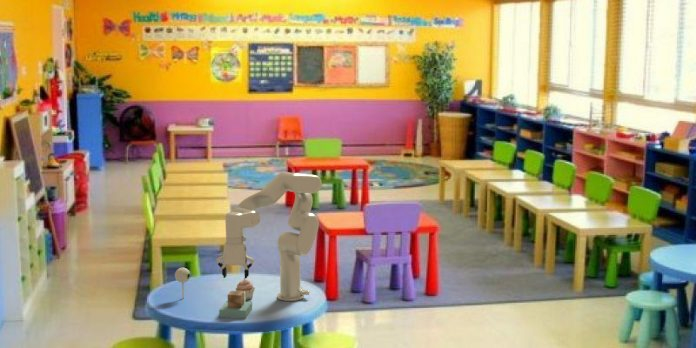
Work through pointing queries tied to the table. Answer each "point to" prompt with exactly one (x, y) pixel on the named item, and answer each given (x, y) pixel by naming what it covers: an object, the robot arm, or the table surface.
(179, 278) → the lollipop
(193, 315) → the table surface
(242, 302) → the walnut cube
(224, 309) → the base block
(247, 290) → the cupcake
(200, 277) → the table surface
